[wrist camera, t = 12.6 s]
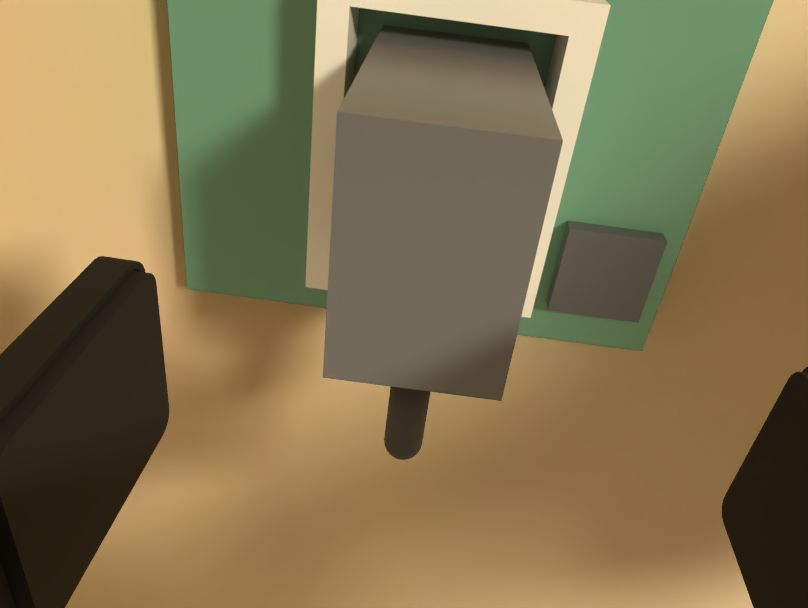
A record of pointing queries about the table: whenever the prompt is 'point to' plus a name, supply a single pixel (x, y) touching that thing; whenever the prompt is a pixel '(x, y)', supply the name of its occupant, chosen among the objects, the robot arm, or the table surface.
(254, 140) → the circuit board
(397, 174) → the plug
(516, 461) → the table surface
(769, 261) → the table surface
